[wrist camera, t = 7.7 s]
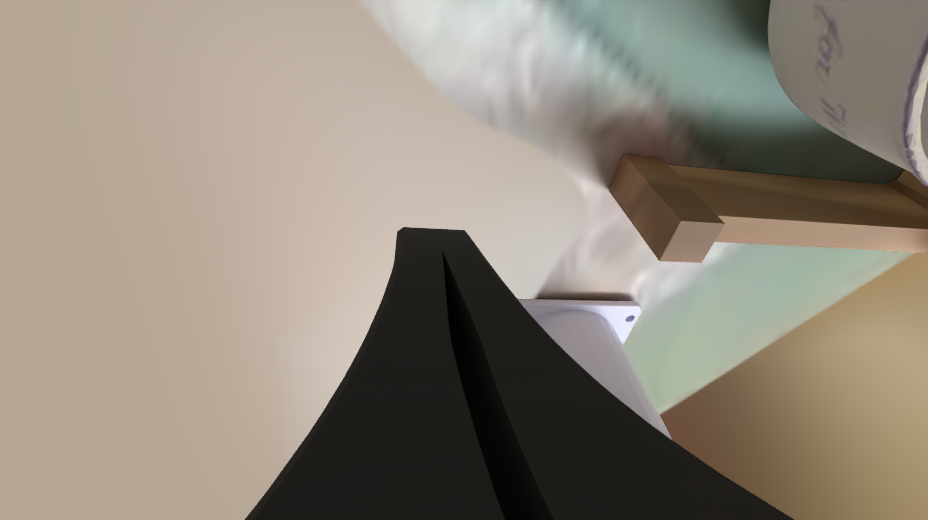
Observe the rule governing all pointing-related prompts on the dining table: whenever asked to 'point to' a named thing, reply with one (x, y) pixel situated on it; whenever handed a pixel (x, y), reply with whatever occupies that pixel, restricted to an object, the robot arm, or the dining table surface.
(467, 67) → the dining table surface
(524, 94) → the dining table surface
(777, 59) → the teacup
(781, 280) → the dining table surface
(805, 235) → the wooden frame
